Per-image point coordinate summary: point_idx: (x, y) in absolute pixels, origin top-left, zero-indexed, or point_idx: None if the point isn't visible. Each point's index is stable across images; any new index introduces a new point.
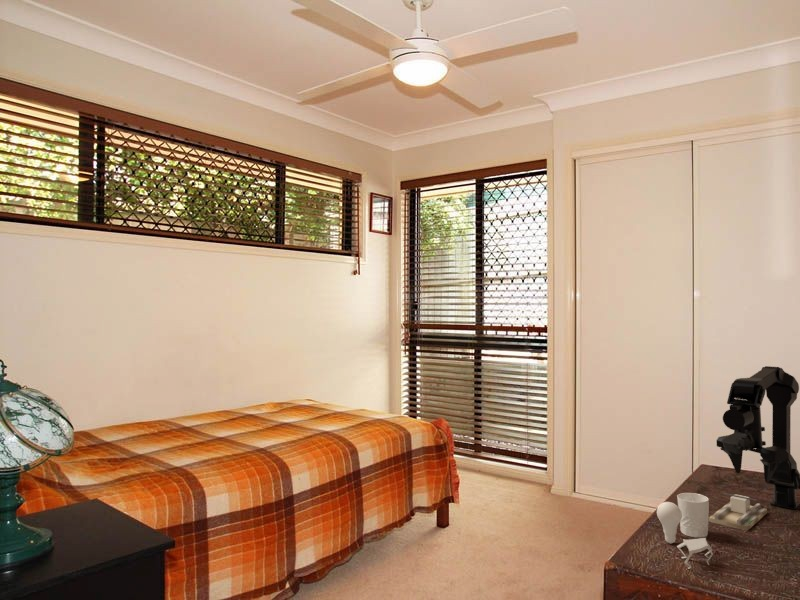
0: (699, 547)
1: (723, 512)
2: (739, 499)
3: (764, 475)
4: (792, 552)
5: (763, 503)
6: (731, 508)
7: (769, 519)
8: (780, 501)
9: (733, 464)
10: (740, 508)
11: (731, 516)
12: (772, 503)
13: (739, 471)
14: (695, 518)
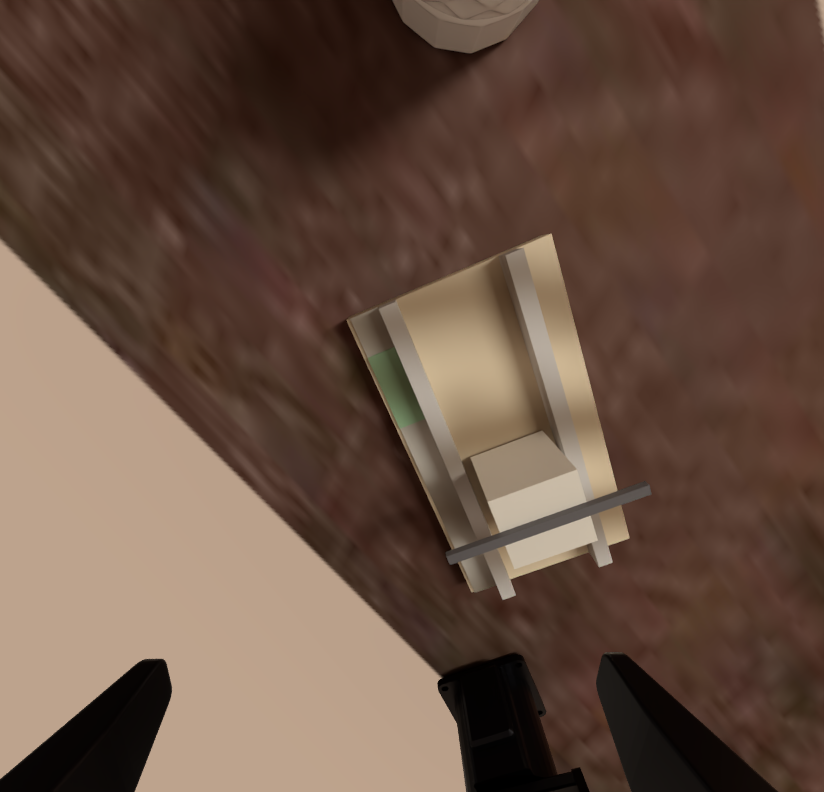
0: None
1: (532, 351)
2: (521, 490)
3: (63, 767)
4: (42, 276)
5: (547, 645)
6: (544, 439)
7: (412, 529)
8: (484, 687)
9: (755, 790)
10: (500, 460)
11: (492, 372)
12: (518, 665)
13: (606, 698)
14: None
